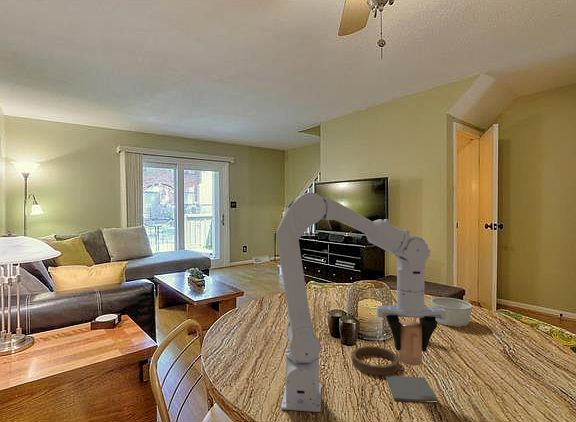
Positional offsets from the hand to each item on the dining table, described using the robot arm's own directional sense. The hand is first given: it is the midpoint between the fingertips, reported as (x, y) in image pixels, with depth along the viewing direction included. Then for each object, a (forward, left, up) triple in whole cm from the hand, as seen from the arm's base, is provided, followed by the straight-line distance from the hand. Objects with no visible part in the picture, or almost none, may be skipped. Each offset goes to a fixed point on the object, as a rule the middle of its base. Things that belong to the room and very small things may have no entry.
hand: (410, 349), depth 70 cm
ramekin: (+45, -26, -10) cm, 53 cm away
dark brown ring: (+11, +6, -9) cm, 15 cm away
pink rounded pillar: (0, 0, -2) cm, 2 cm away
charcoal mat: (0, 0, -9) cm, 9 cm away
